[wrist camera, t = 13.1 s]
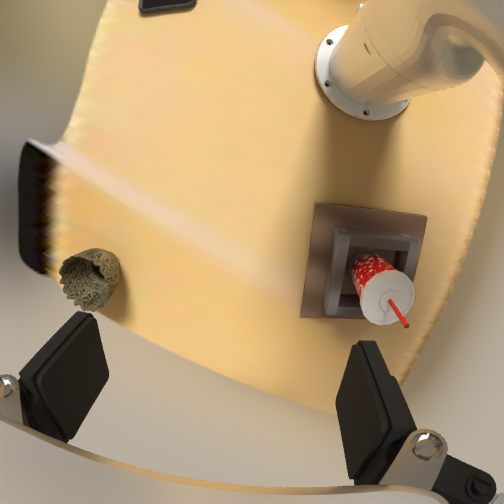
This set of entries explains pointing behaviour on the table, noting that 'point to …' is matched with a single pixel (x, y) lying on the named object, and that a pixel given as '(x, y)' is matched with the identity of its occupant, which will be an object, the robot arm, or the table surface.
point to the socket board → (347, 246)
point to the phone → (164, 5)
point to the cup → (90, 278)
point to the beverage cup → (381, 289)
